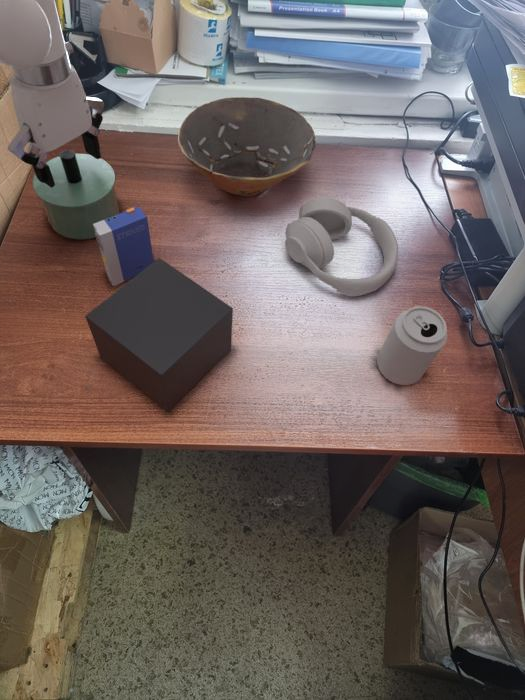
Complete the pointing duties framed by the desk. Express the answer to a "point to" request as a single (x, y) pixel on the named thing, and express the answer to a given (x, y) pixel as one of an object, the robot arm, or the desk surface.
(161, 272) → the stand
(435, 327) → the can
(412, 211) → the desk surface
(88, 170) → the lid
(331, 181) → the desk surface
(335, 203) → the headphones
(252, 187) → the bowl
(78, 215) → the pot
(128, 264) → the walkman
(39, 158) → the robot arm
